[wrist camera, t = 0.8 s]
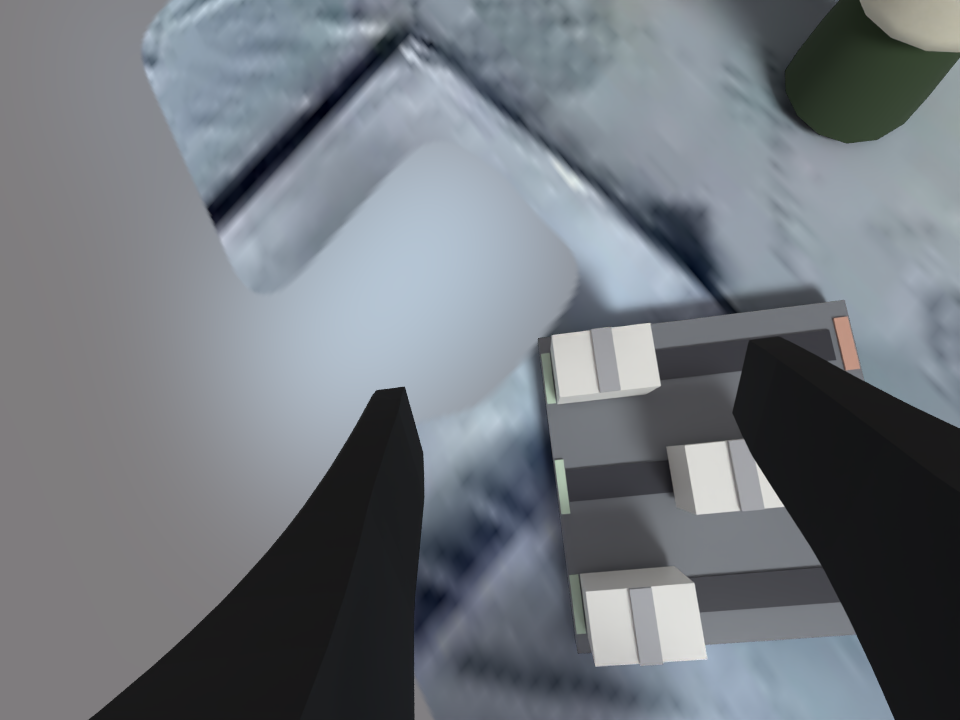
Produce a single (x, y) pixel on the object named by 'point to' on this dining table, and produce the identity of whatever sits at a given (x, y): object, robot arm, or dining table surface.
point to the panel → (649, 490)
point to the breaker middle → (718, 478)
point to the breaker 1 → (604, 363)
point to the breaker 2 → (642, 617)
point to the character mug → (872, 65)
